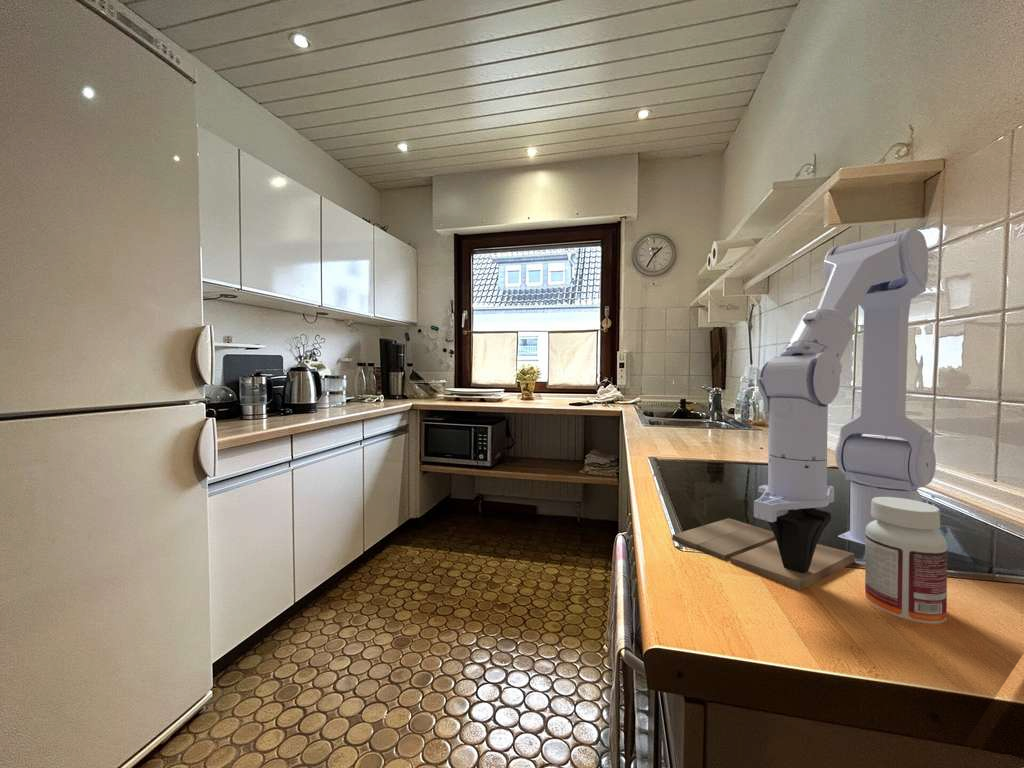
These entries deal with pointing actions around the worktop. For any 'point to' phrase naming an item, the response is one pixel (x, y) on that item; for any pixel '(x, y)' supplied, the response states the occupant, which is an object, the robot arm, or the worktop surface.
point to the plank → (771, 566)
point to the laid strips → (725, 538)
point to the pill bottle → (906, 560)
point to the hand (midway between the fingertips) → (795, 569)
